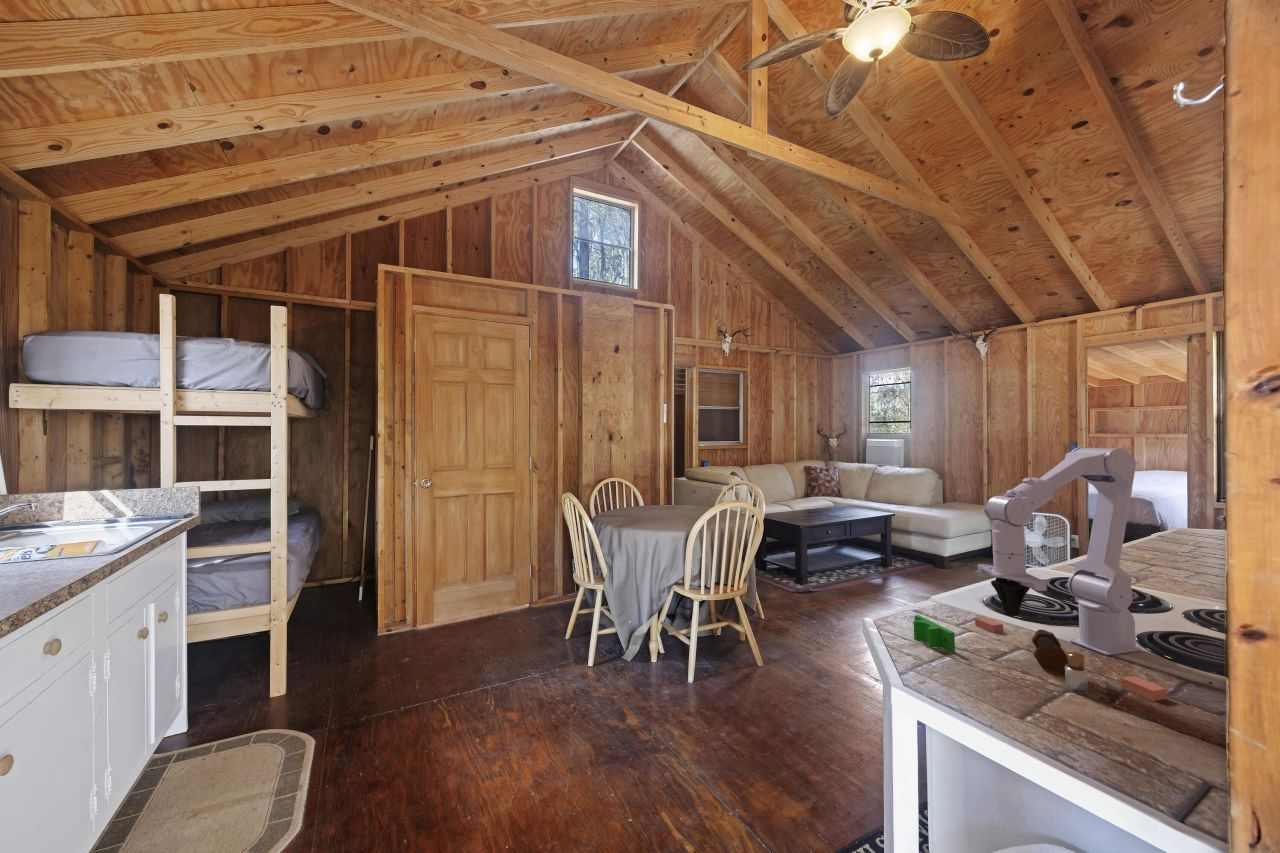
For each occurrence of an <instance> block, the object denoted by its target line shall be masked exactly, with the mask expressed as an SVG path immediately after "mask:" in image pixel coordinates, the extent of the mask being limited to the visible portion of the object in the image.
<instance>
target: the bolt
mask: <svg viewBox="0 0 1280 853" xmlns="http://www.w3.org/2000/svg"><path fill="white" fill-rule="evenodd" d="M1031 642H1032V644H1033V645H1034V647H1035V648H1036V649H1035V651H1034V652H1033V656H1034V657H1033V658H1034V659H1036V661H1037V662H1038V664H1039V666H1040V667H1041V669H1042V670H1045V671H1049V672H1053V673H1061V674H1062V673H1063V672H1064V673H1065V665H1066V664H1067V653H1066V652H1065V651H1064V649H1063V648H1062V645H1061V642H1060V641H1059V639H1058V638H1057V637H1056V635H1055V634H1054V633H1053V632H1051V631H1049V630H1045V629H1038V630H1036V631H1035V633H1034V634H1033V636H1032V638H1031Z"/></svg>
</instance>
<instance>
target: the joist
mask: <svg viewBox="0 0 1280 853" xmlns="http://www.w3.org/2000/svg"><path fill="white" fill-rule="evenodd" d="M974 625H975V626H976V627H978V628H979V629H980V628H981V629H982V630H985V631H988V632H989V633H992V634H996V633H1003V632H1004V624H1003V623H1001V622H998V621H996V620H993V619H990V618H989V617H986V616H981V617H974Z"/></svg>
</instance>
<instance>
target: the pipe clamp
mask: <svg viewBox="0 0 1280 853" xmlns="http://www.w3.org/2000/svg"><path fill="white" fill-rule="evenodd" d="M912 623H913V640H915V641H920V642H921V641H922V642H926V643H927V647H928V648H929V647H930V648H929V649H933V648H932V647H938V648H941V647H942V648H941V649H943V648H944V649H943V650H945V649H946V650H945V651H947V650H948V651H949V653H950V652H953V653H956V642H955V641H956V640H955V636H956V635H955V632H954V631H952V630H950V629H948V628H946V627H944V626H943V625H940V624H938V623H935V622H934V621H932V620H930V619H927V618H926V617H923V616H921V615H919V614H915V615H914V620H913V622H912ZM948 651H947V652H948Z"/></svg>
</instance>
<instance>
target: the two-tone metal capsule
mask: <svg viewBox="0 0 1280 853" xmlns="http://www.w3.org/2000/svg"><path fill="white" fill-rule="evenodd" d="M1066 655H1067V664H1066V665H1065V671H1064V677H1065V678H1064V679H1065V683H1064V684H1065V688H1066V689H1067V690H1068V691H1070V692H1072V693H1074V694H1075V693H1076V694H1079V695H1087V694H1089V680H1088V679H1089V678H1088V669H1087V668H1086V667H1085V655H1083V654H1081V653H1079V652H1077V651H1068V652H1066Z"/></svg>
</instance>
